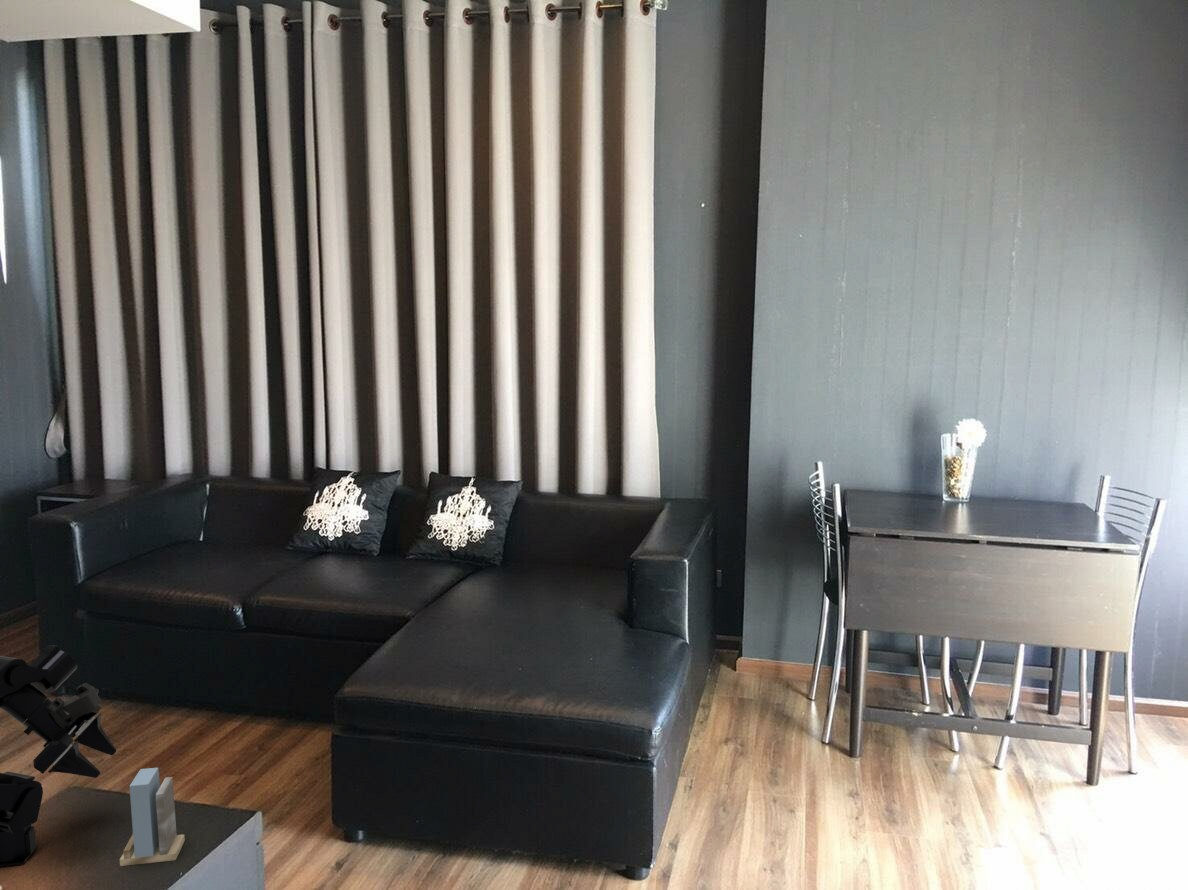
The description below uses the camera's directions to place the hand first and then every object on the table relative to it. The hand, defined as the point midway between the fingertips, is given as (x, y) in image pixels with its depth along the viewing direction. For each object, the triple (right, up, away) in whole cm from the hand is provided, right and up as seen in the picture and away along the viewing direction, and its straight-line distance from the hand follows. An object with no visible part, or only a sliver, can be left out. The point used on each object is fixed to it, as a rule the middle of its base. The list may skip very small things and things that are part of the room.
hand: (106, 764), depth 171 cm
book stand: (+10, -14, -5) cm, 18 cm away
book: (+10, -13, -5) cm, 17 cm away
